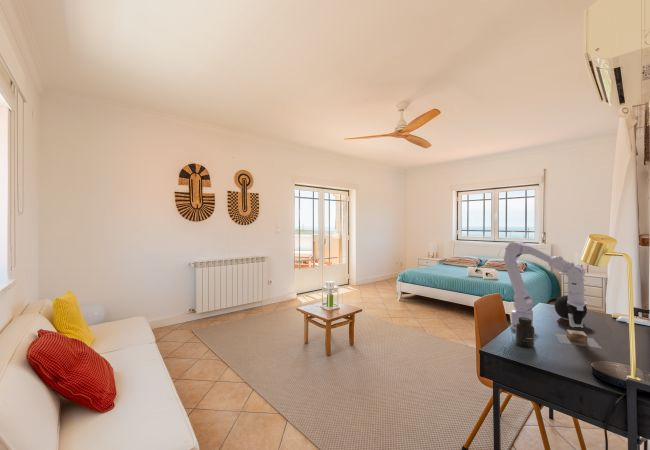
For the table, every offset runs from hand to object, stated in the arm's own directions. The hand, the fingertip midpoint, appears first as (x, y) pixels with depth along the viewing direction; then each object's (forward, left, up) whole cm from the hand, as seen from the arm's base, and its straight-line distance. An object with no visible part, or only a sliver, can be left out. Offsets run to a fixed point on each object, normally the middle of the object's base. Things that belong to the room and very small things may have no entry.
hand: (576, 322), depth 134 cm
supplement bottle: (-21, -16, -9) cm, 28 cm away
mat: (0, 0, -8) cm, 9 cm away
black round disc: (+3, +27, -9) cm, 29 cm away
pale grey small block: (0, 0, -2) cm, 2 cm away
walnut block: (0, 0, -8) cm, 8 cm away
